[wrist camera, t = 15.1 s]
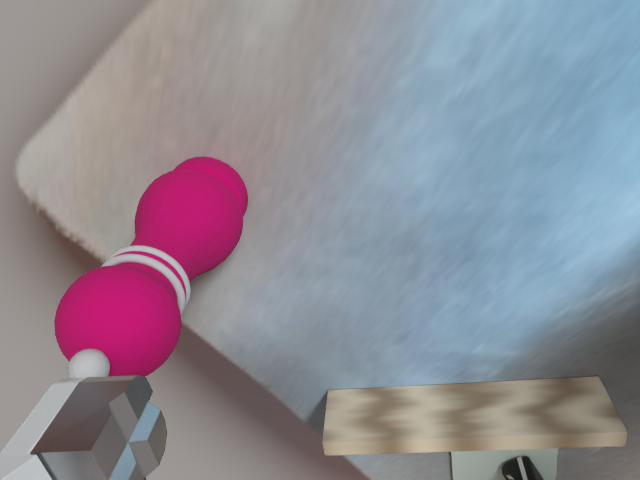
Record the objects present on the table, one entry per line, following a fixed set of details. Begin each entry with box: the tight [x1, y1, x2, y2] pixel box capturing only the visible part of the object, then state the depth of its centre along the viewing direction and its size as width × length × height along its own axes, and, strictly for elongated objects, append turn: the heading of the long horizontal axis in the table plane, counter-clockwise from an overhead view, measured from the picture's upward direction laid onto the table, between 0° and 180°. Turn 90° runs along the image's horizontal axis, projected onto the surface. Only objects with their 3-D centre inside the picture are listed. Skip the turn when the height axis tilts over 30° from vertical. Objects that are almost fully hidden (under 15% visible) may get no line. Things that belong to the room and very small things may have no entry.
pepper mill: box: [55, 157, 248, 378], centre depth 31 cm, size 7×7×20 cm
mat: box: [451, 448, 558, 480], centre depth 52 cm, size 10×10×1 cm
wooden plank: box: [322, 376, 628, 455], centre depth 45 cm, size 24×2×6 cm, turn 99°
